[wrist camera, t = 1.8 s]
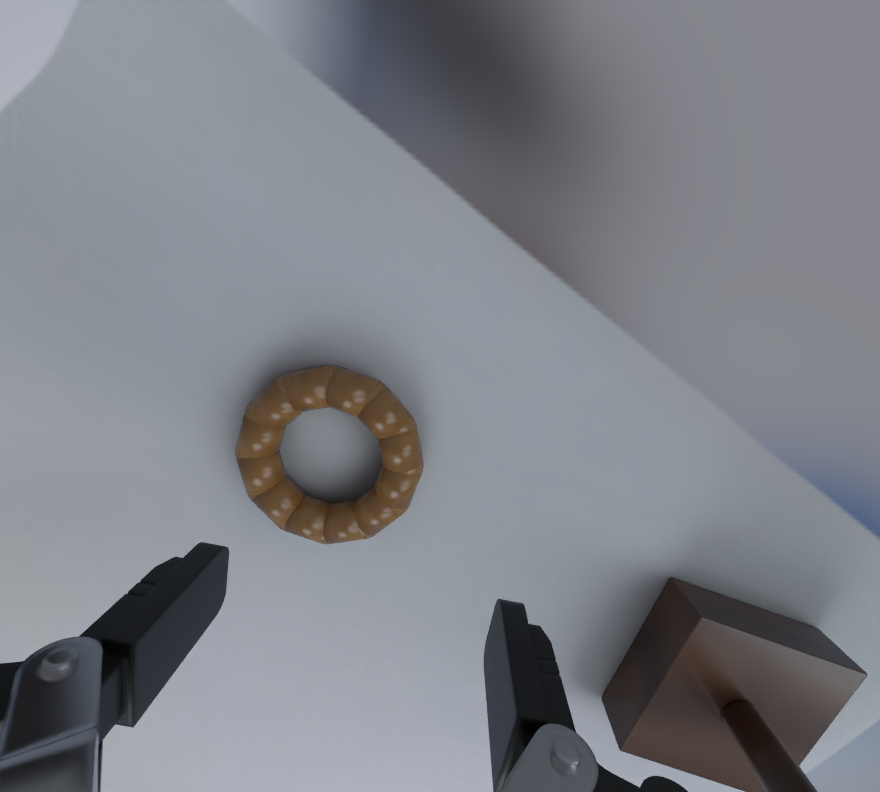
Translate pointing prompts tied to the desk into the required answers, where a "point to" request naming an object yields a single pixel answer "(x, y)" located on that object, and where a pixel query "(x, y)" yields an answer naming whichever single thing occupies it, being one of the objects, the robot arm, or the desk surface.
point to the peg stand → (728, 690)
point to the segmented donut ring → (347, 395)
